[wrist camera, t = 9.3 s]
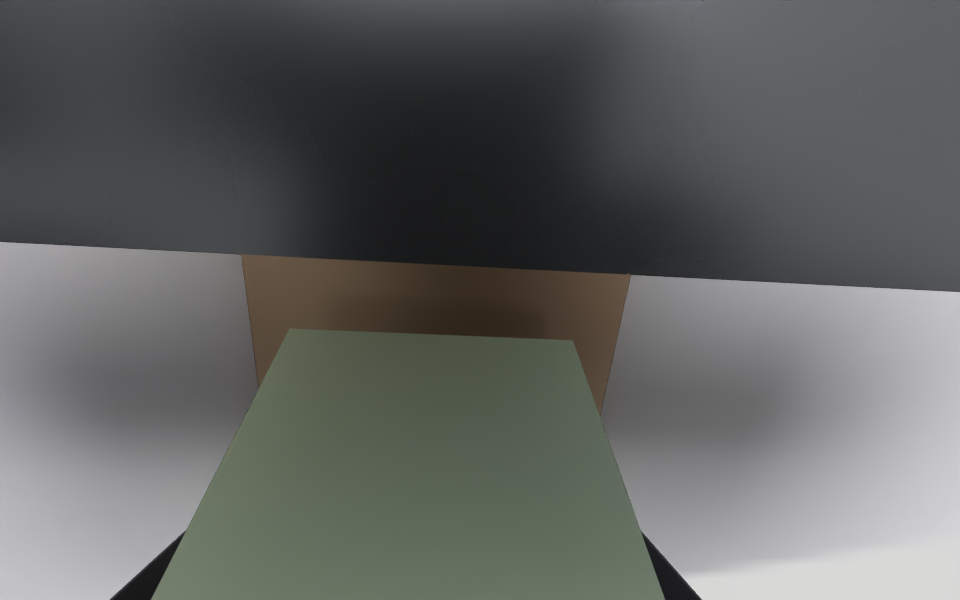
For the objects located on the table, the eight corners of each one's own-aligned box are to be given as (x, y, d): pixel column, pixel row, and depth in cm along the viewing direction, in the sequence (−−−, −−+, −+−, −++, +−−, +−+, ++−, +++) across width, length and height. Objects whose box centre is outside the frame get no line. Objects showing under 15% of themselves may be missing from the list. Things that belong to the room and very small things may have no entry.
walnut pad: (283, 481, 13) (274, 507, 13) (250, 197, 10) (235, 212, 9) (571, 488, 14) (578, 514, 13) (627, 220, 11) (639, 235, 10)
